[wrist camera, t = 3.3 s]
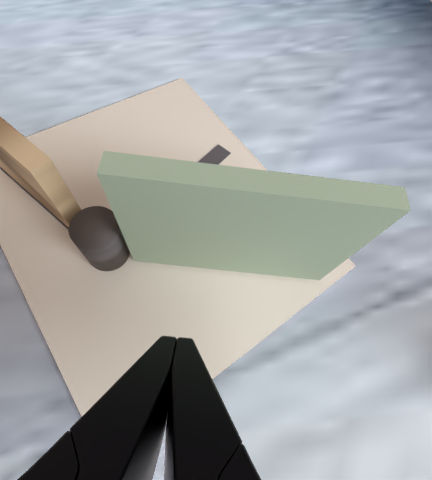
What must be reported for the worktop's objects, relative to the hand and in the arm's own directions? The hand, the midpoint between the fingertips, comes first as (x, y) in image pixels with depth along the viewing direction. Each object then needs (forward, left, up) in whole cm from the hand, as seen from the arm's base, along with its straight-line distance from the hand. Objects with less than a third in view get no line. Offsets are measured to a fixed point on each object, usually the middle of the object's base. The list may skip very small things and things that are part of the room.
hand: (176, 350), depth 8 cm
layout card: (+4, +9, -8) cm, 13 cm away
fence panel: (+5, +3, -8) cm, 10 cm away
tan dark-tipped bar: (-1, +12, -8) cm, 14 cm away
